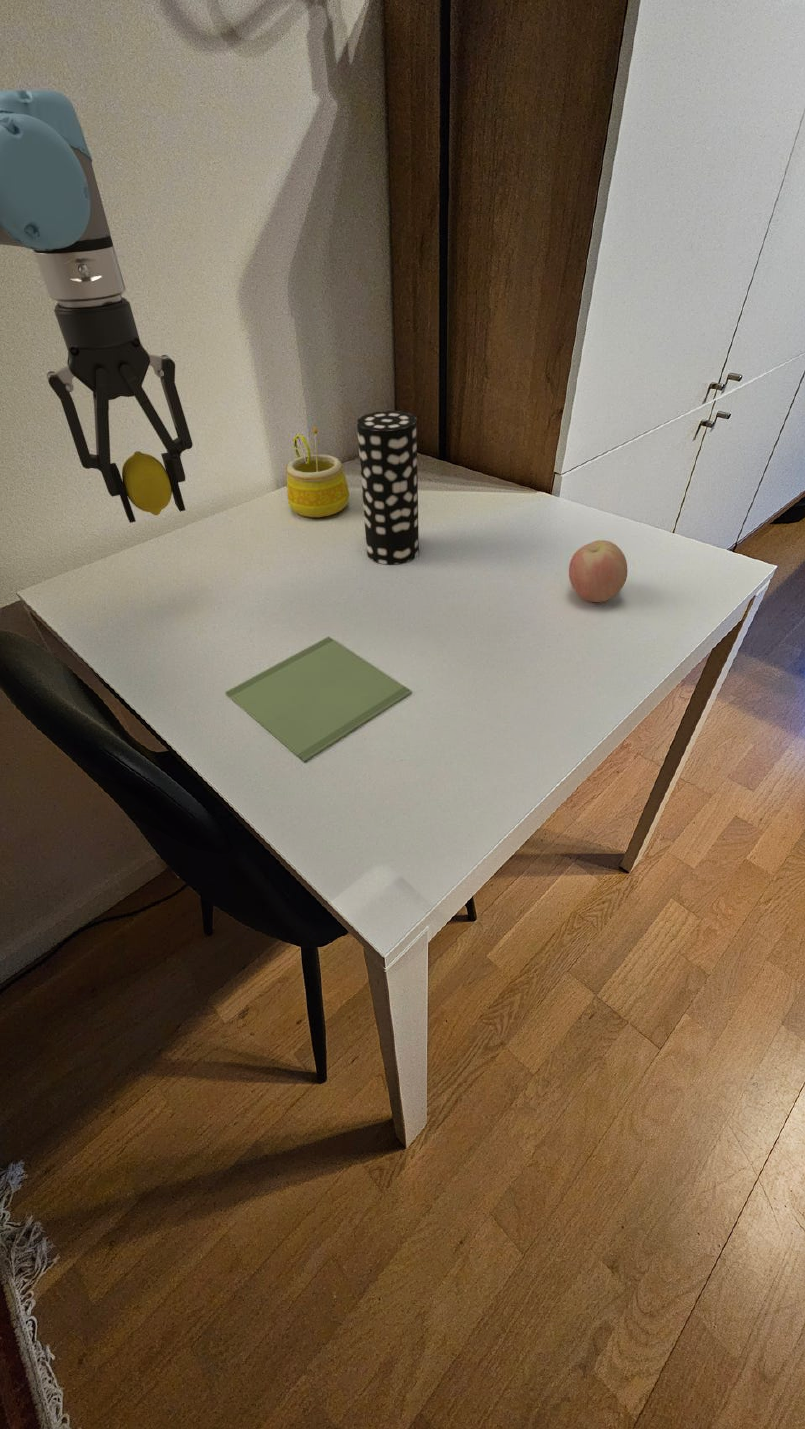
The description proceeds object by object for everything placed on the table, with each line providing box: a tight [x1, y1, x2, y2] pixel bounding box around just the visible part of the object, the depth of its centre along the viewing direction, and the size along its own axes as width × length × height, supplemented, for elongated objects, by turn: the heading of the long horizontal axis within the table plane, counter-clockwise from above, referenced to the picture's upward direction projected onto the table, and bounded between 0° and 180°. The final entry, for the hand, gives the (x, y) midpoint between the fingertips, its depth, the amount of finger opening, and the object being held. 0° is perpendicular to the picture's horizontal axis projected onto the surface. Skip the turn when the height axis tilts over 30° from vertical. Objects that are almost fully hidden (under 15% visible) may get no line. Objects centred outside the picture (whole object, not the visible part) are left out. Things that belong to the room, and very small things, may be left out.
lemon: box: [121, 450, 173, 516], centre depth 78 cm, size 6×6×8 cm
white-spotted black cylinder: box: [356, 410, 420, 565], centre depth 94 cm, size 8×8×20 cm
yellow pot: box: [285, 427, 350, 518], centre depth 110 cm, size 13×11×12 cm
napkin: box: [224, 636, 412, 763], centre depth 76 cm, size 16×16×1 cm
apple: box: [568, 539, 629, 603], centre depth 87 cm, size 8×8×8 cm
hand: (155, 512), depth 81 cm, fingers closed on lemon, 6 cm apart
